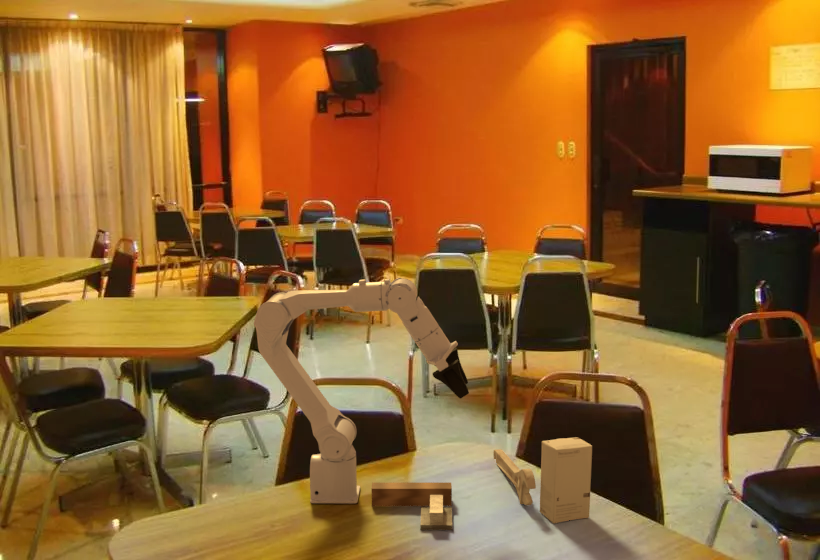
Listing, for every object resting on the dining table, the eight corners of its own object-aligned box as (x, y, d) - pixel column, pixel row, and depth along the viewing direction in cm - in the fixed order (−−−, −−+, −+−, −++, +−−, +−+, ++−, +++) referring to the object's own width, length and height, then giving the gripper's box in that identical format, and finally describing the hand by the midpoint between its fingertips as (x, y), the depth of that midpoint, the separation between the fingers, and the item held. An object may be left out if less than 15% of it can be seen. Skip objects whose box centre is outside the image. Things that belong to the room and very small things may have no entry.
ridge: (420, 530, 169) (420, 512, 169) (421, 511, 177) (421, 494, 177) (452, 530, 169) (452, 512, 169) (451, 511, 177) (451, 495, 176)
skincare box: (553, 524, 171) (554, 450, 168) (538, 511, 177) (539, 440, 174) (591, 517, 174) (593, 444, 171) (575, 505, 180) (577, 434, 177)
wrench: (501, 472, 204) (536, 514, 174) (493, 472, 204) (527, 515, 174) (500, 437, 204) (535, 473, 174) (492, 437, 203) (526, 474, 174)
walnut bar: (371, 507, 180) (371, 488, 179) (372, 501, 183) (372, 482, 182) (451, 507, 180) (451, 488, 179) (451, 501, 183) (451, 482, 182)
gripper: (443, 330, 169) (482, 389, 170) (444, 316, 183) (479, 370, 185) (412, 350, 170) (451, 408, 171) (415, 334, 184) (451, 388, 186)
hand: (464, 390), depth 178 cm, fingers open, 7 cm apart
